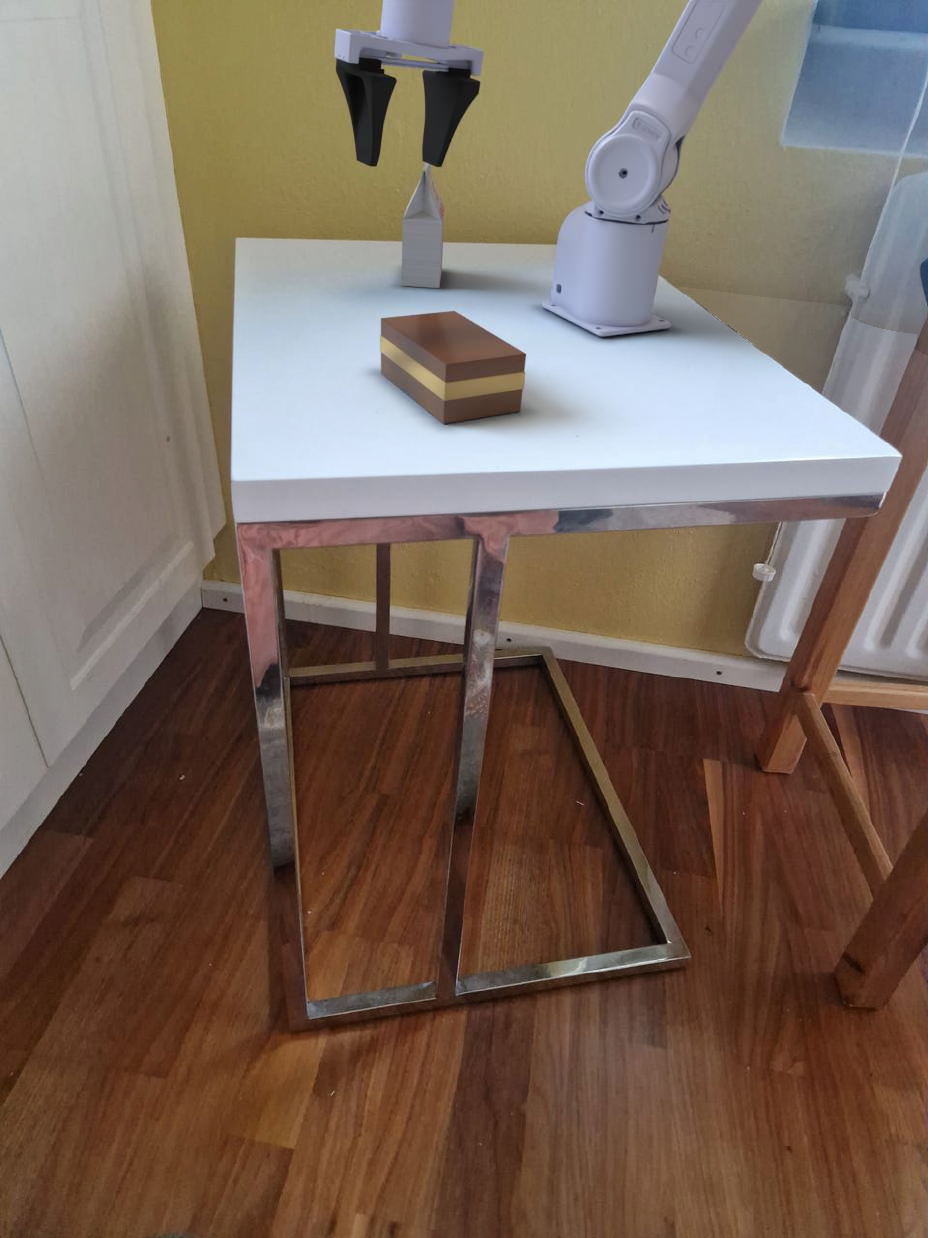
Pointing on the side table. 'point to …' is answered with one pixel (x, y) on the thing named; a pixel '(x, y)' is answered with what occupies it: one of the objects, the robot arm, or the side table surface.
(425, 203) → the white milk carton
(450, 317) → the snack box
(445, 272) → the side table surface
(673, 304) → the side table surface
